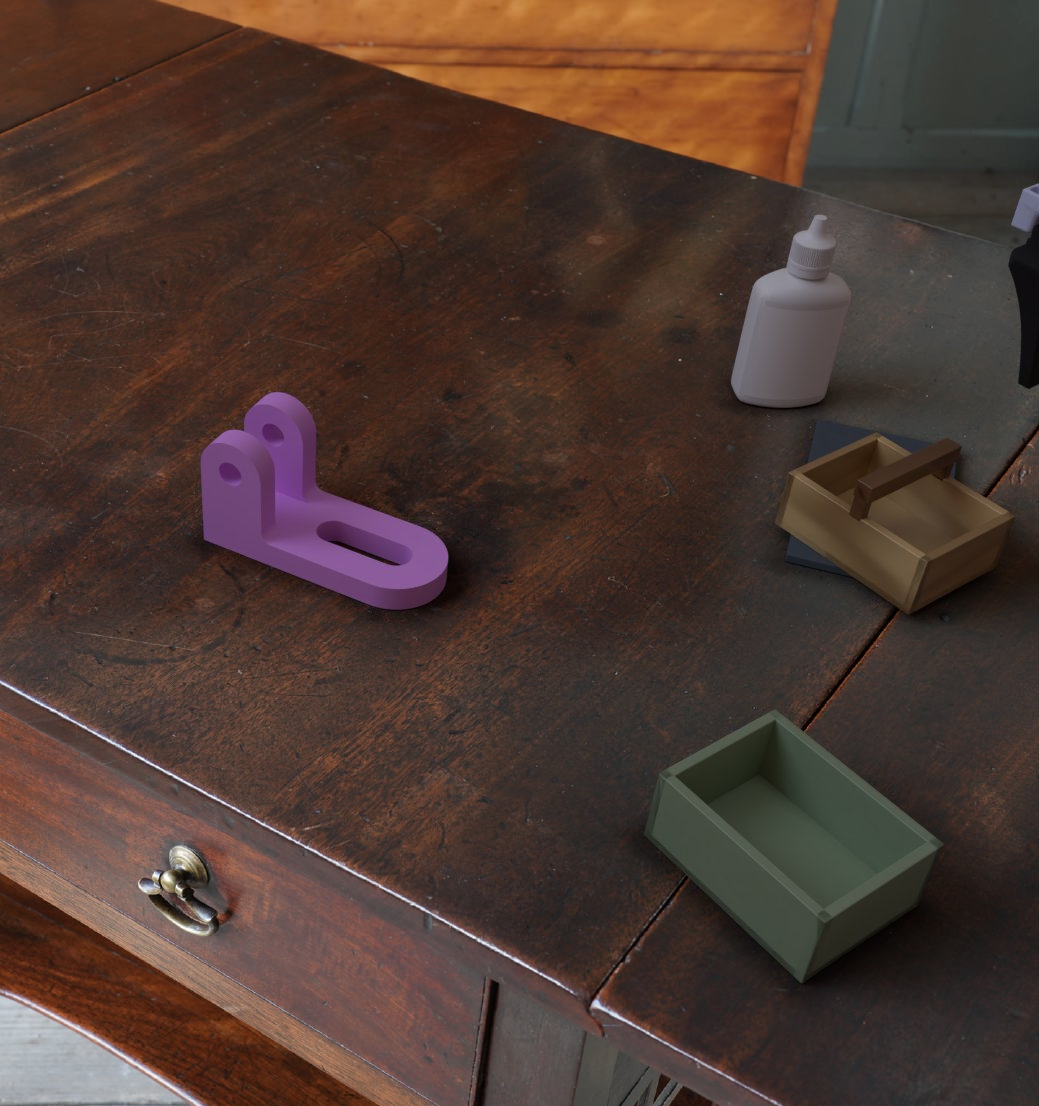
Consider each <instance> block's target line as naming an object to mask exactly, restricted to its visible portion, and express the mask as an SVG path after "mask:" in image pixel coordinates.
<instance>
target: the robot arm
mask: <svg viewBox="0 0 1039 1106" xmlns="http://www.w3.org/2000/svg"><path fill="white" fill-rule="evenodd" d="M1021 191H1022V192H1021V195H1020V196H1019V200H1018V203H1017V206H1016V208H1015V212H1014V214H1013V216H1012V217H1013V218H1012V220H1011V223H1010V225H1011V226H1012V227H1013V228H1015V229H1017V230H1020V231H1022V232H1024V233H1028V234H1030V237H1028V238H1027V239H1026V241H1025V244H1022V245H1019V246H1017V247H1015V248H1014V249H1012V250H1011V253H1010V255H1009V258H1008V264H1007V266H1008V269H1009V272H1010V274H1011V277H1012V281H1013V284H1014V289H1015V292H1016V297H1017V302H1018V309H1019V319H1020V320H1019V321H1020V352H1019V353H1020V354H1019V369H1018V377H1017V379H1018V380H1017V384H1018V385H1020V386H1022V387H1023V388H1026V389H1027V390H1030V389H1033V388H1035V387H1037V386H1038V385H1039V182H1038V183H1036V184H1033V185H1029V186H1028V187H1026V188H1025V187H1024V188H1023V189H1022V190H1021Z"/></svg>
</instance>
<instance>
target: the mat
mask: <svg viewBox="0 0 1039 1106" xmlns="http://www.w3.org/2000/svg"><path fill="white" fill-rule="evenodd" d="M876 432H877V433H879V434H880V435H882V436H883V437H885V438H887V439H888V440H890V441H892V442H893V443H895V444H897V445H898V446H900V447H902V448H903V449H905V450H907V451H908V452H910V453H912V454H913V453H915V452H917V451H919V450H921V449H923V448H925V447H928V446H930V445H932V444H934V443H935V442H929V441H924V440H921V439H915V438H910V437H907V436H901V435H896V434H891V433H886V432H883V431H878V430H873V429H867V428H863V427H857V426H854V425H848V424H843V423H839V422H835V421H829V420H825V419H820V418H819V419H817V421H816V423H815V427H814V433H813V436H812V441H811V445H810V450H809V454H808V459H807V462H806V464H808V463H810V462H812V461H815V460H817V459H819V458H821V457H823V456H825V455H828V454H830V453H832V452H834V451H836V450H839V449H841V448H843V447H845V446H847V445H850V444H852V443H854V442H856V441H858V440H861V439H863V438H865V437H867V436H869V435H872V434H874V433H876ZM956 471H957V461H956V462H955V463H954V466H953V469H952V471H951V474H950V477H952V478H953V479H955V480H956ZM784 561H785V562H787V563H791V564H793V565H794V564H795V565H798V566H799V565H800V566H803V567H807V568H811V569H815V570H819V571H825V572H828V573H833V574H837V575H842V576H846V577H850V578H854V577H852V576H851V575H850V574H848V573H847V572H845V571H844V570H842V569H841V568H839V567H838V566H836V565H835V564H834V563H832V562H831V561H829V560H828V559H826V558H825V557H823V556H822V555H820V554H819V553H818V552H816V551H815V550H813V549H812V548H810V547H809V546H807V545H806V544H805V543H803V542H802V541H800V540H799V539H797V538H796V537H794V536H793V535H791V534H790V535H789V541H788V544H787V550H786V554H785V558H784ZM854 579H855V578H854ZM942 598H943V596H942V597H940V598H939V599H942Z"/></svg>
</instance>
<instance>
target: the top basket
mask: <svg viewBox="0 0 1039 1106" xmlns="http://www.w3.org/2000/svg"><path fill="white" fill-rule="evenodd" d="M877 432H878V431H877ZM877 432H876V433H874V434H872V435H869V436H867V437H865V438H863V439H861V440H858V441H856V442H854V443H852V444H850V445H847V446H845V447H843V448H841V449H839V450H836V451H834V452H832V453H830V454H828V455H825V456H823V457H821V458H819V459H817V460H815V461H812V462H810V463H808V464H807V463H806V464H804V465H801V466H799V467H797V468H795V469H793V470H791V471H789V472H788V474H787V478H786V482H785V485H784V489H783V492H782V496H781V500H780V504H779V506H778V507H779V508H778V511H777V514H776V518H775V523H774V524H775V525H777V526H778V527H780V528H781V529H783V530H784V531H785V532H787V533H788V534H790V536H791V535H793V536H794V537H796V538H797V539H799V540H800V541H802V542H803V543H805V544H806V545H807V546H809V547H810V548H812V549H813V550H815V551H816V552H818V553H819V554H820V555H822V556H823V557H825V558H826V559H828V560H829V561H831V562H832V563H834V564H835V565H836V566H838V567H839V568H841V569H842V570H844V571H845V572H847V573H848V574H850V575H851V576H852V577H851V578H853V577H854V579H855V580H856V581H858V582H860V583H861V584H863V585H864V586H865V587H867V588H868V589H870V591H872V592H874V593H876V594H877V595H879V596H880V597H882V598H883V599H885V600H886V601H887V602H889V603H890V604H892V605H893V606H894V607H896V608H897V609H899V610H900V611H901V612H903V613H905V614H906V615H907V616H908V615H911V614H913V613H914V612H916V611H918V610H920V609H922V608H924V607H926V606H927V605H930V604H931V603H933V602H935V601H937V600H939V599H941V598H940V597H942V598H943V597H944V596H946V595H948V594H950V593H952V592H953V591H955V590H957V589H959V588H961V587H962V586H964V585H966V584H968V583H970V582H972V581H973V580H975V579H977V578H979V577H981V576H983V575H984V574H986V573H989V572H990V571H992V570H994V569H996V568H997V564H998V562H999V560H1000V558H1001V555H1002V552H1003V551H1004V548H1005V544H1006V542H1007V540H1008V538H1009V535H1010V532H1011V530H1012V527H1013V526H1014V523H1015V520H1016V518H1017V516H1016V515H1015V514H1014V513H1012V512H1010V511H1008V510H1007V509H1005V508H1003V507H1002V506H1000V505H999V504H997V503H995V502H993V501H992V500H990V499H989V498H987V497H985V496H983V495H982V494H980V493H979V492H977V491H975V490H974V489H972V488H970V487H969V486H967V485H966V484H963V483H962V482H961V481H959V480H957V479H956V478H955V479H953V478H952V477H950V474H951V471H952V469H953V466H954V463H955V462H956V463H957V462H958V459H959V457H960V454H961V451H962V448H963V446H962V445H961V444H959V443H958V442H956V441H954V440H952V439H951V438H949V437H944V438H943V439H941V440H938V441H936V442H933V443H934V444H932V445H930V446H928V447H925V448H923V449H921V450H919V451H917V452H915V453H913V454H912V453H910V452H908V451H907V450H905V449H903V448H902V447H900V446H898V445H897V444H895V443H893V442H892V441H890V440H888V439H887V438H885V437H883V436H882V435H880V434H879V433H877Z"/></svg>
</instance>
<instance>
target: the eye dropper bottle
mask: <svg viewBox="0 0 1039 1106" xmlns="http://www.w3.org/2000/svg"><path fill="white" fill-rule="evenodd" d="M837 245H838V243H837V240H836V239H835V238H834V236H832V234H829V233H828V217H827V215H824V214H816V215H814V217H813V219H812V221H811V223H810V225H809V227H808V229H806V230H801V231H798V232H796V233H795V234H794V235H793V237H792V242H791V246H790V251H789V254H788V259H787V263H786V267H783V268H779V269H777V270H774V271H771V272H769V273H767V274H764V275H763V276H761V277H759V278H758V279H757V280H756V281H755V282H754V283H753V286H752V289H751V292H750V297H749V300H748V304H747V308H746V314H745V318H744V321H743V325H742V329H741V335H740V338H739V343H738V347H737V352H736V357H735V360H734V364H733V368H732V373H731V379H730V385H731V388H732V390H733V393H734V394H735V396H736V398H737V399H738V400H739V401H740V402H742V403H745V404H749V405H753V406H758V407H765V408H776V409H789V408H800V407H805V406H806V407H807V406H810V405H814V404H817V403H820V402H821V401H822V400H823V399H824V398H825V397H826V394H827V391H828V389H829V384H830V381H831V378H832V373H833V370H834V366H835V362H836V358H837V356H838V352H839V349H840V344H841V341H842V337H843V333H844V329H845V327H846V322H847V319H848V315H849V311H850V306H851V301H852V293H851V290H850V288H849V285H848V284H847V283H846V281H845V280H844V279H843V278H842V277H841V276H839V275H838V274H836V273H834V272H832V271H831V268H832V264H833V261H834V256H835V252H836V249H837Z"/></svg>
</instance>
